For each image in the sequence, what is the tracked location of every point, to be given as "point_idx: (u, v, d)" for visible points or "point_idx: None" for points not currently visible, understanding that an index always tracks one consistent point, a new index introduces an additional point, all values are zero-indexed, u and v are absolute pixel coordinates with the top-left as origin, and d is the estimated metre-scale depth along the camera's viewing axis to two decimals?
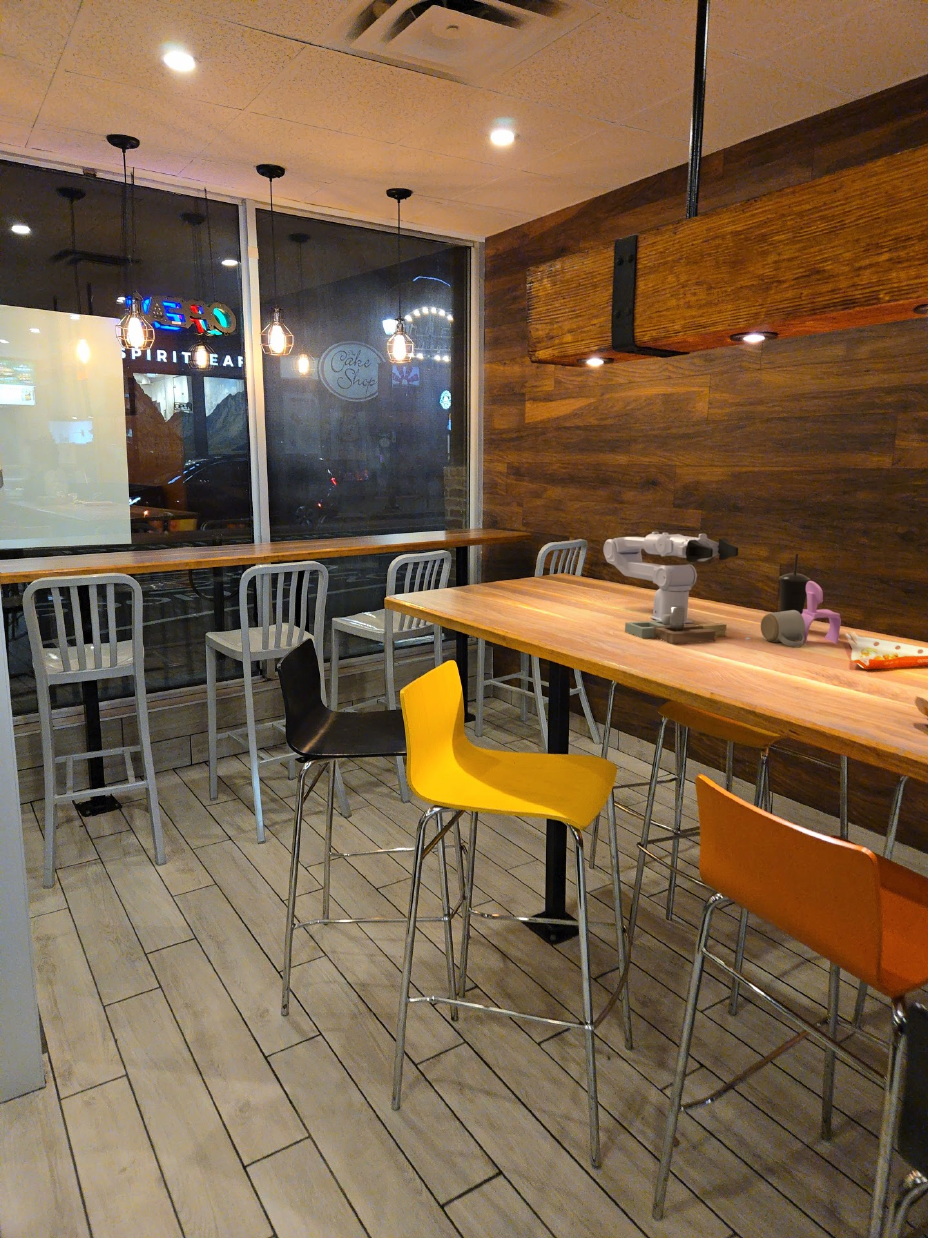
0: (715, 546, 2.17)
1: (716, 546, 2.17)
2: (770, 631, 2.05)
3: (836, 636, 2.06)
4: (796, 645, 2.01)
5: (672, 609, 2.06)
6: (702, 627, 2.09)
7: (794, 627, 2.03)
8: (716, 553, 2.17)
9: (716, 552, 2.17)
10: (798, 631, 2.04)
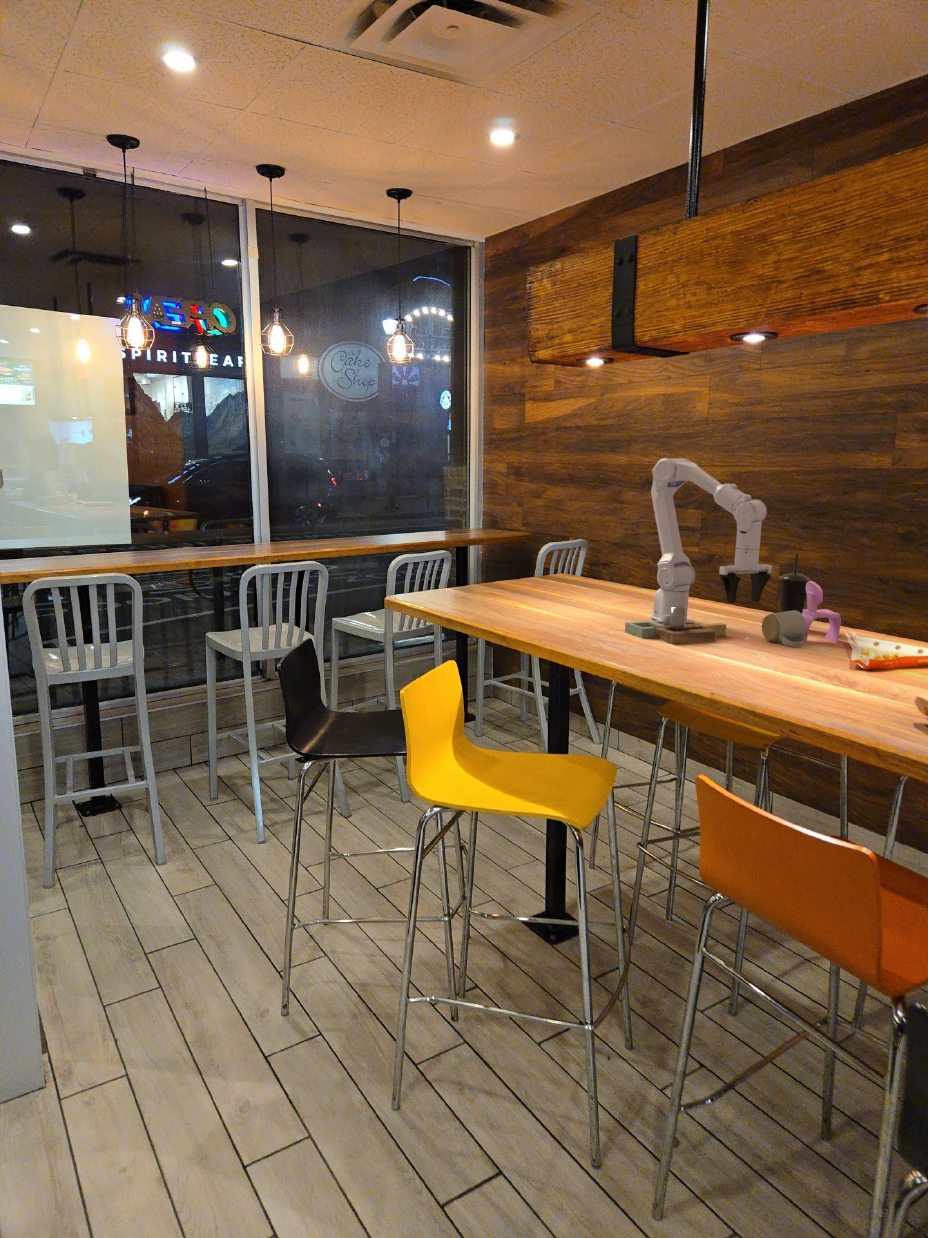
0: None
1: None
2: (771, 631, 2.05)
3: (836, 636, 2.06)
4: (797, 645, 2.01)
5: (672, 609, 2.06)
6: (702, 627, 2.09)
7: (795, 627, 2.03)
8: None
9: None
10: (799, 631, 2.03)
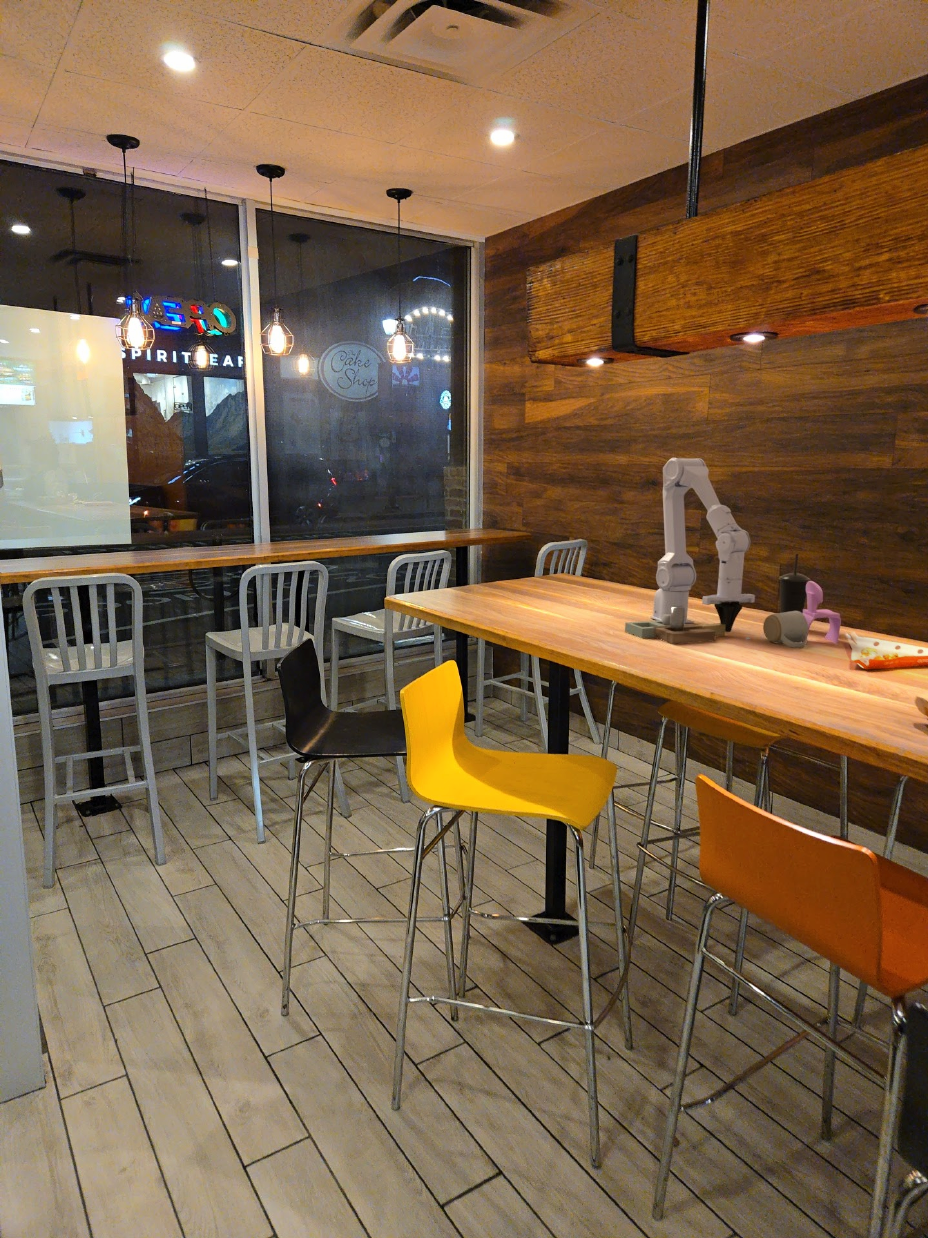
0: None
1: None
2: (772, 632, 2.04)
3: (836, 636, 2.06)
4: (799, 646, 2.00)
5: (672, 609, 2.06)
6: (701, 627, 2.09)
7: (797, 628, 2.02)
8: None
9: None
10: (801, 632, 2.03)
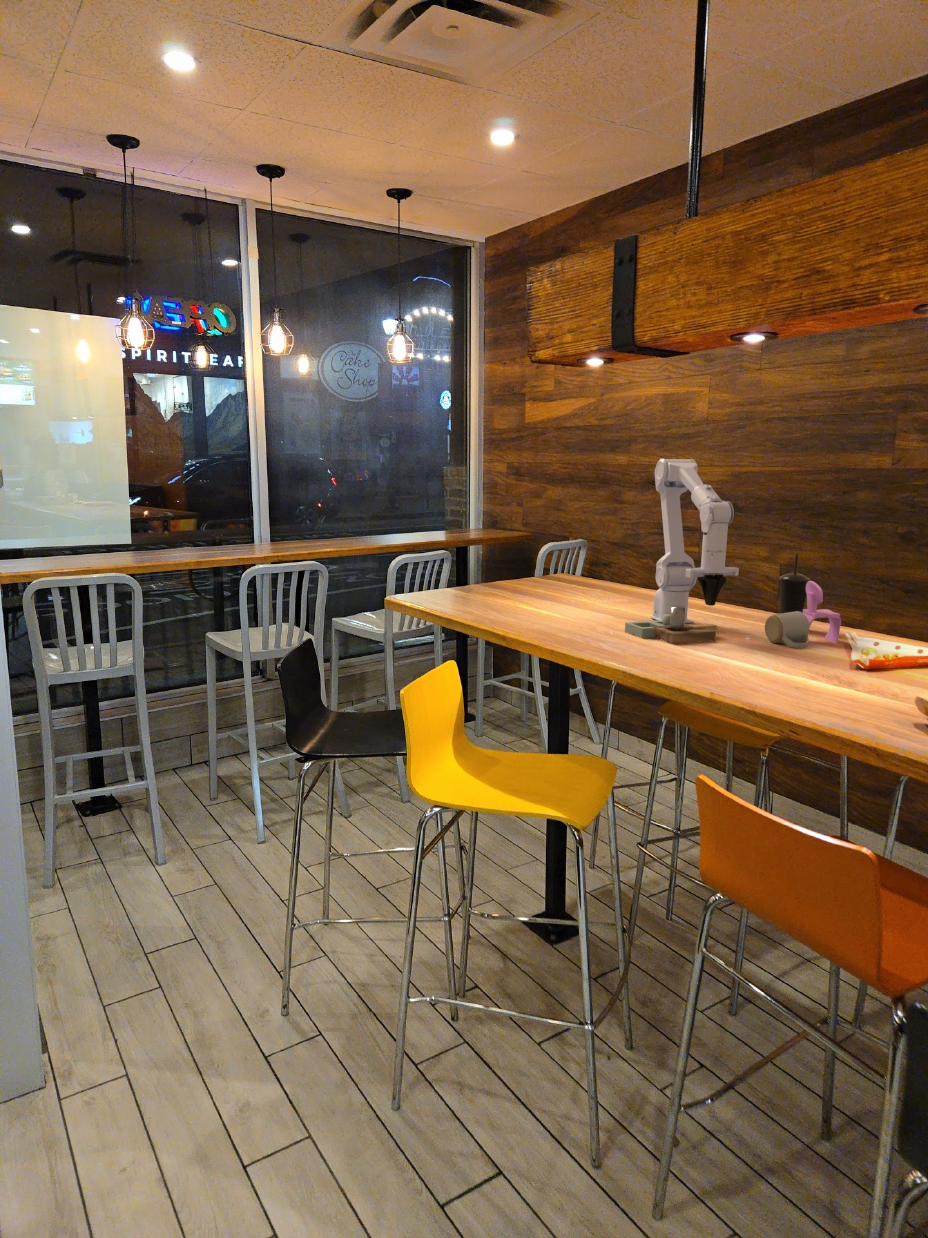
0: (726, 571, 2.09)
1: None
2: (774, 632, 2.04)
3: (836, 636, 2.06)
4: (800, 647, 2.00)
5: (672, 609, 2.06)
6: (692, 628, 2.08)
7: (798, 628, 2.02)
8: None
9: None
10: (802, 632, 2.02)
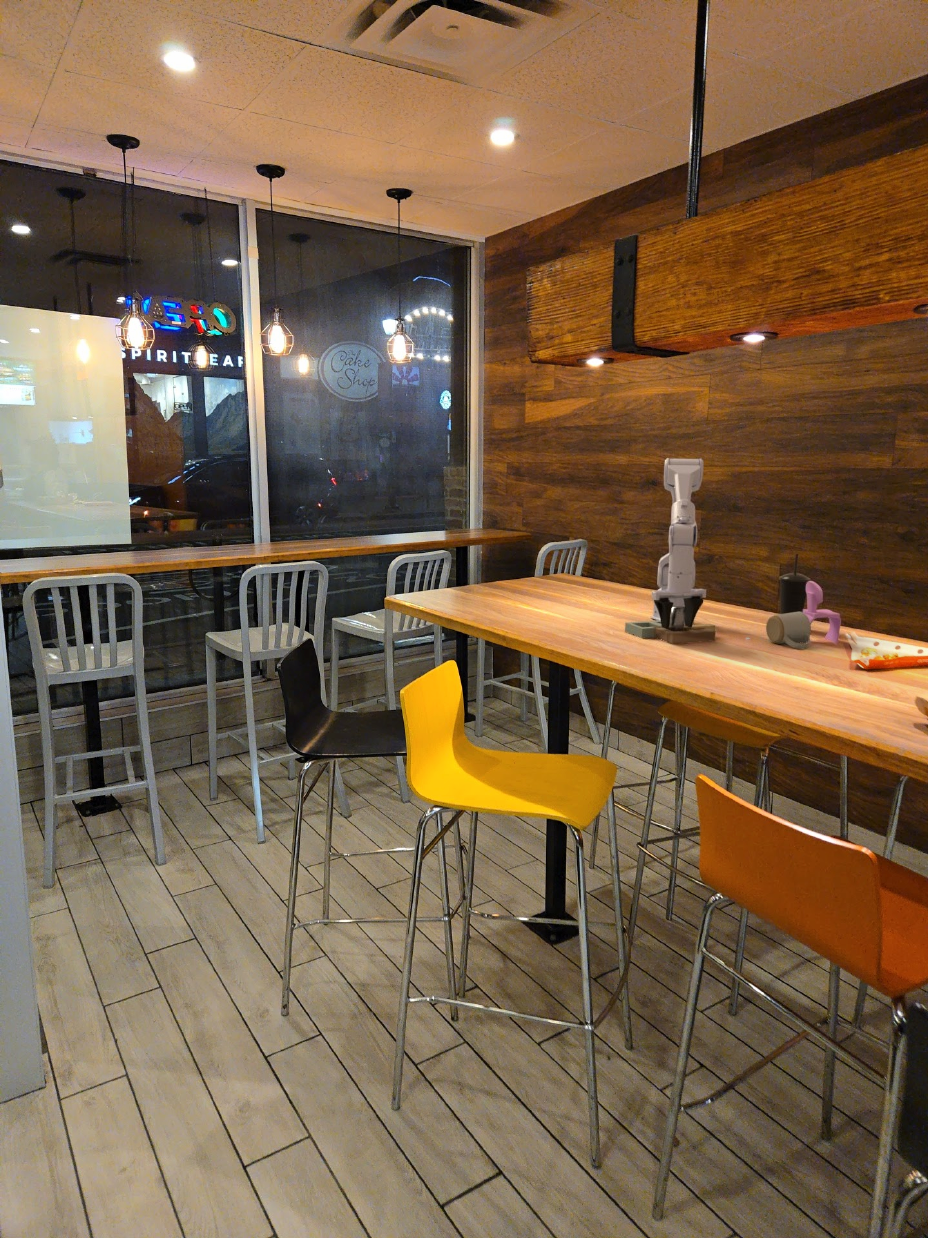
0: None
1: None
2: (775, 633, 2.03)
3: (836, 636, 2.06)
4: (802, 647, 1.99)
5: (672, 609, 2.06)
6: (691, 628, 2.08)
7: (800, 629, 2.01)
8: None
9: None
10: (804, 633, 2.02)
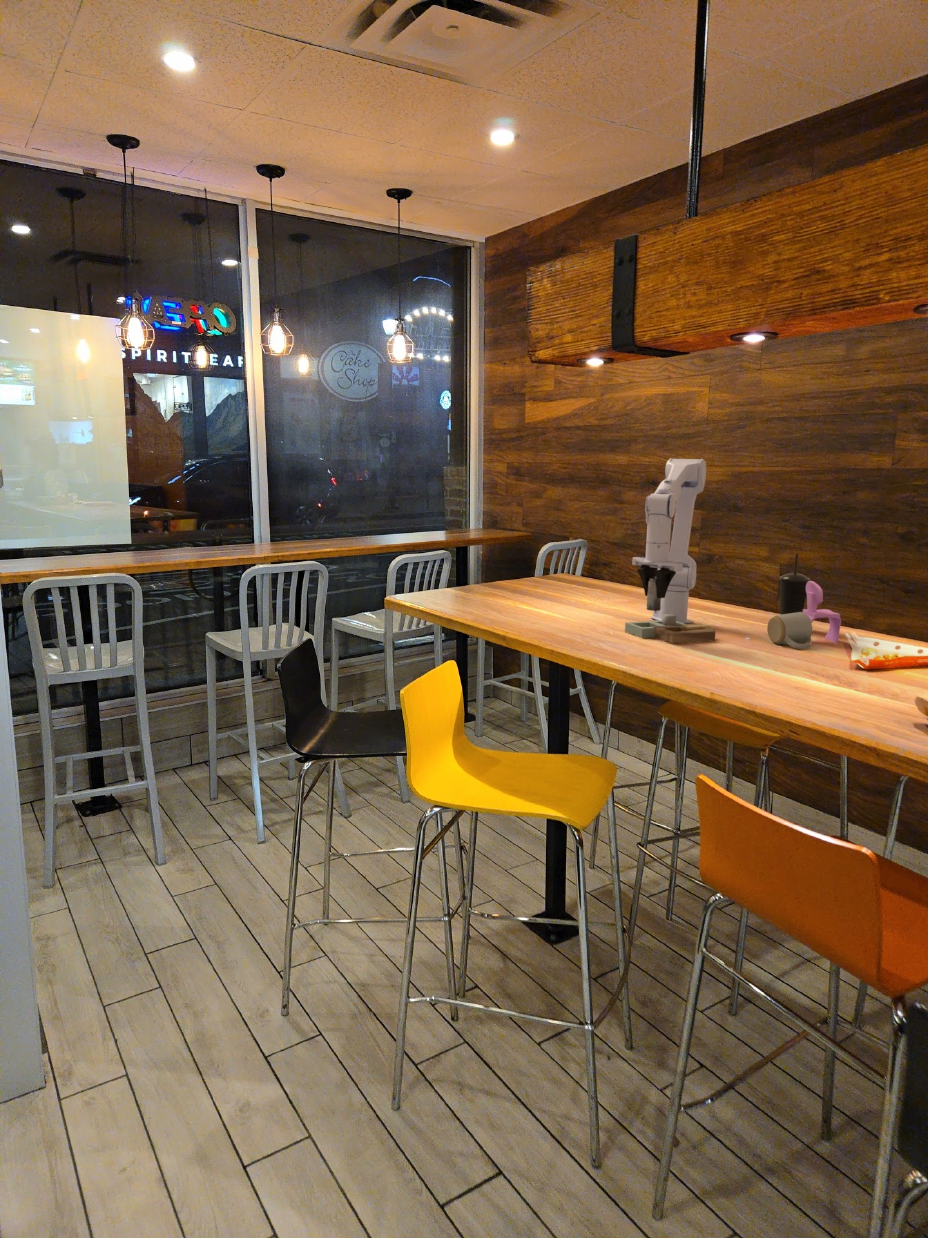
0: None
1: (667, 565, 2.05)
2: (776, 633, 2.03)
3: (836, 636, 2.06)
4: (803, 647, 1.99)
5: None
6: (686, 628, 2.08)
7: (801, 629, 2.01)
8: None
9: None
10: (805, 633, 2.01)
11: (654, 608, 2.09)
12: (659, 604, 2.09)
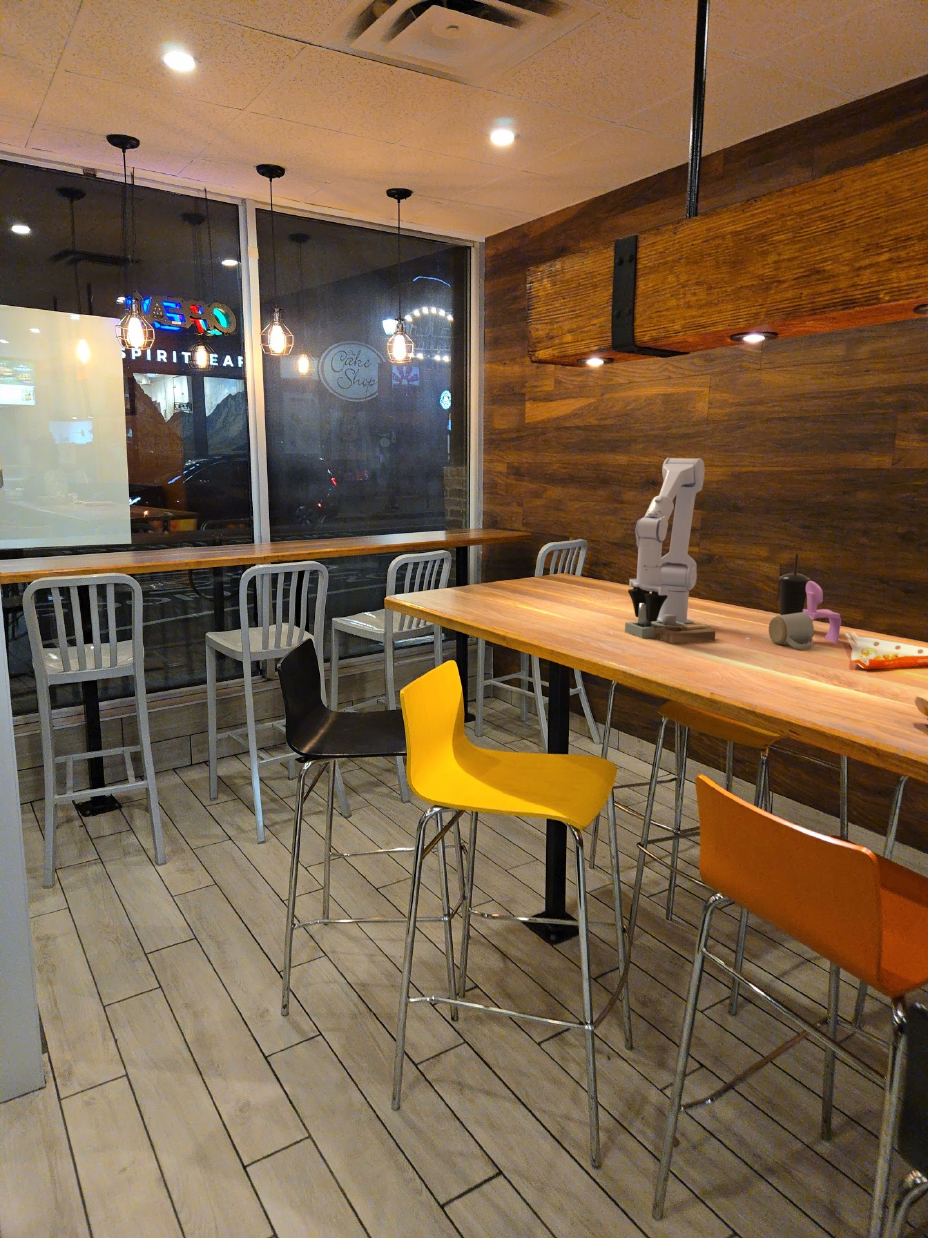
0: (653, 588, 2.07)
1: None
2: (778, 633, 2.02)
3: (836, 636, 2.06)
4: (805, 648, 1.98)
5: None
6: (686, 628, 2.08)
7: (803, 630, 2.00)
8: None
9: None
10: (807, 634, 2.01)
11: None
12: None
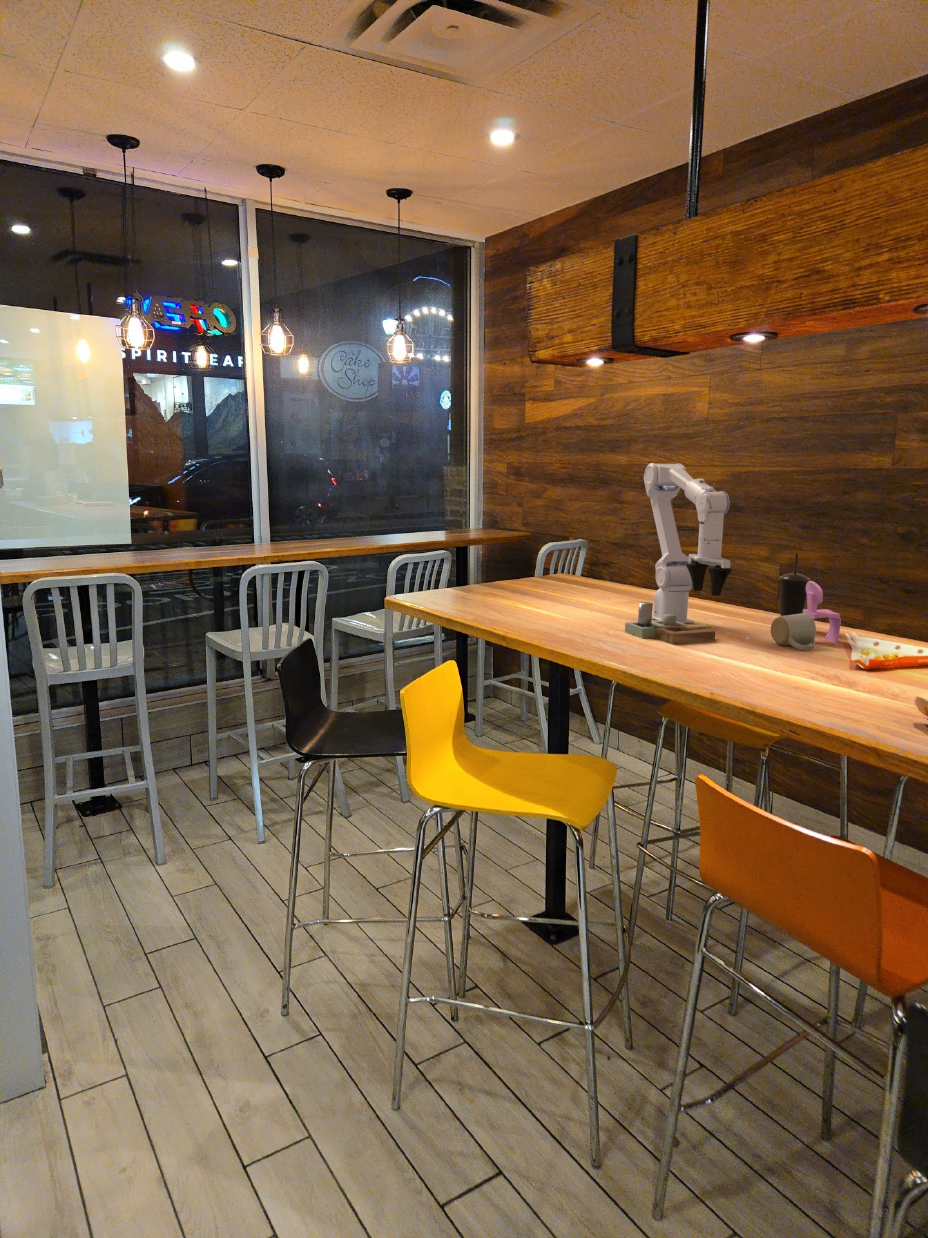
0: None
1: None
2: (780, 634, 2.01)
3: (836, 636, 2.06)
4: (807, 649, 1.97)
5: None
6: (686, 628, 2.08)
7: (805, 630, 2.00)
8: None
9: None
10: (809, 634, 2.00)
11: None
12: None
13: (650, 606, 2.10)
